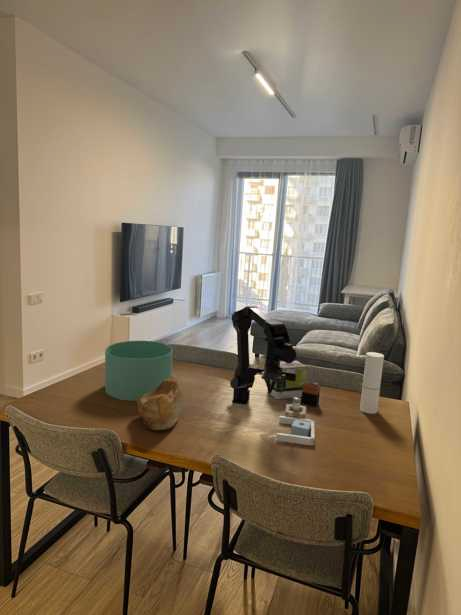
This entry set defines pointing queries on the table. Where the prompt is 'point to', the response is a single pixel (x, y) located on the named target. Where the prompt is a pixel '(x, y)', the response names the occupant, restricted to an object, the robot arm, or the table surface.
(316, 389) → the battery
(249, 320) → the robot arm
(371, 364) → the cylindrical container
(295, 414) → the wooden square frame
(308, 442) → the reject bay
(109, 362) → the container
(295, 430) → the block
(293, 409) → the cylinder
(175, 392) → the rough brown rock
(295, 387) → the tea box
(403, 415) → the table surface
